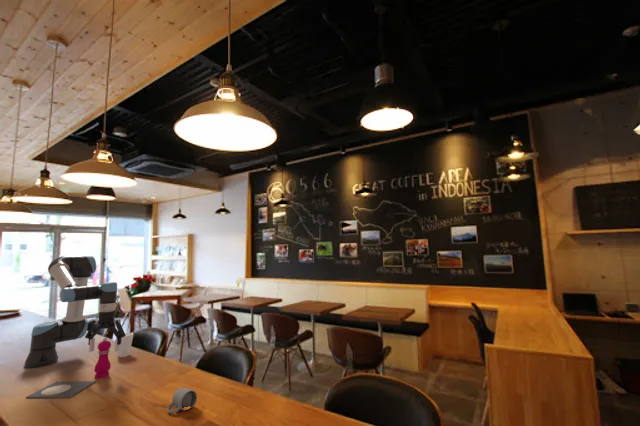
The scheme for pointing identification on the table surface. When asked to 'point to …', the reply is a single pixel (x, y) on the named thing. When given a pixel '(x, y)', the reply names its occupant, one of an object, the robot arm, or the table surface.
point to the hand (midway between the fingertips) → (104, 351)
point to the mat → (62, 389)
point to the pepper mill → (103, 360)
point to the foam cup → (125, 345)
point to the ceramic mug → (183, 399)
